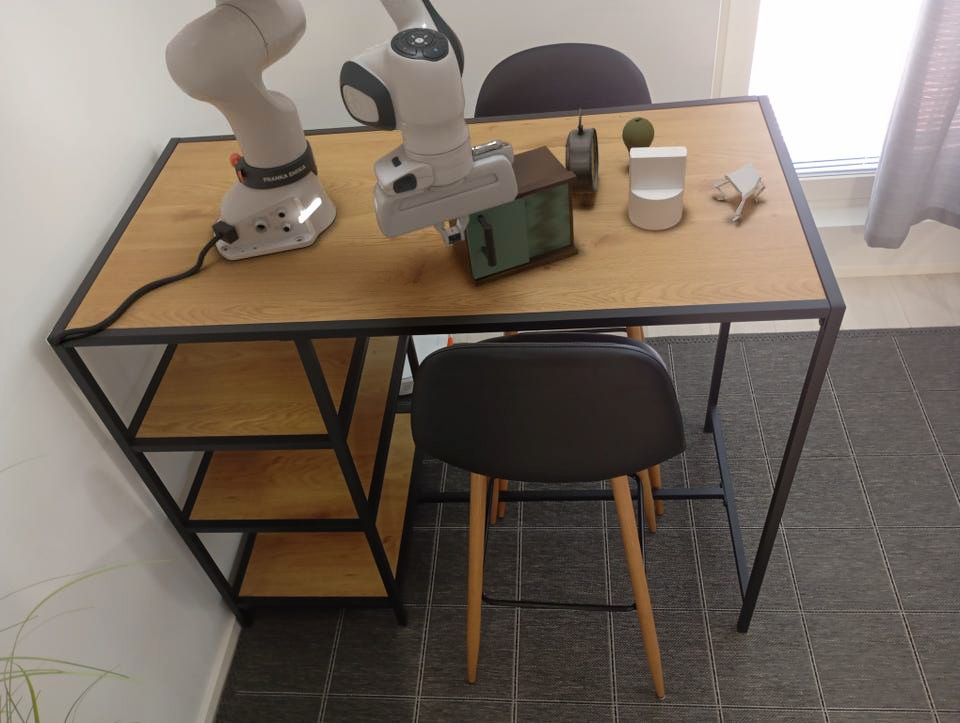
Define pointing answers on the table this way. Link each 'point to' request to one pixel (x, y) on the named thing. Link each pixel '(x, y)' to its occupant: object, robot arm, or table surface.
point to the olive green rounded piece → (638, 133)
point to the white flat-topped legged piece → (742, 184)
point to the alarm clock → (583, 159)
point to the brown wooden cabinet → (537, 212)
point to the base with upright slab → (656, 186)
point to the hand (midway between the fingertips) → (453, 240)
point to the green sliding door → (498, 238)
